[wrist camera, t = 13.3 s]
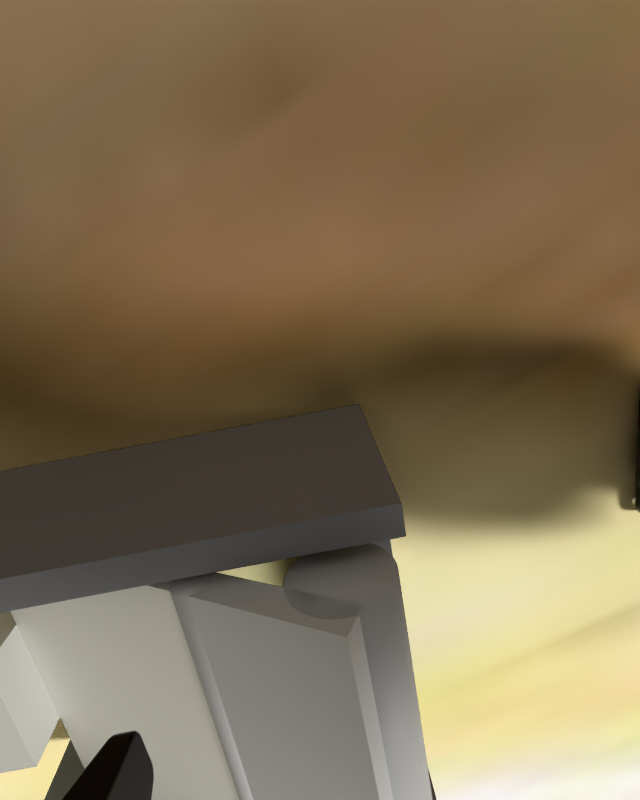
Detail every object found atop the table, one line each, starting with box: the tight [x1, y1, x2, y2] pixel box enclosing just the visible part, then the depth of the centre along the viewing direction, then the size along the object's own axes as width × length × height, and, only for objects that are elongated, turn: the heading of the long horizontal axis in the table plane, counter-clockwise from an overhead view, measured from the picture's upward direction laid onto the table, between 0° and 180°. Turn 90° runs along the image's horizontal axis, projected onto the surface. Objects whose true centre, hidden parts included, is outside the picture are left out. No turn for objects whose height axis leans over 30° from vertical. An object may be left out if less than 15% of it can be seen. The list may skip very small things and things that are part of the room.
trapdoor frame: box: [0, 404, 436, 800], centre depth 19 cm, size 16×15×8 cm
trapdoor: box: [10, 543, 433, 800], centre depth 17 cm, size 16×12×3 cm
